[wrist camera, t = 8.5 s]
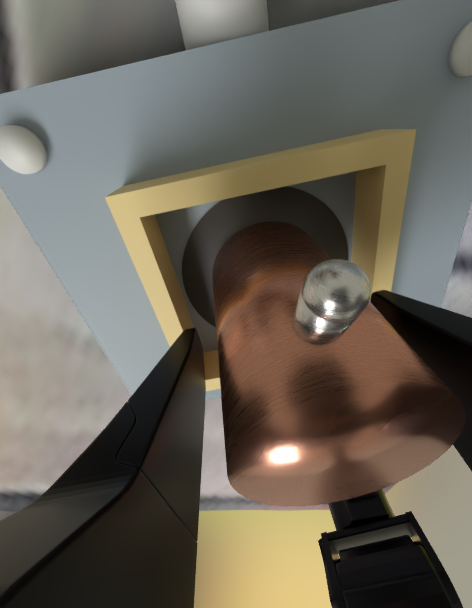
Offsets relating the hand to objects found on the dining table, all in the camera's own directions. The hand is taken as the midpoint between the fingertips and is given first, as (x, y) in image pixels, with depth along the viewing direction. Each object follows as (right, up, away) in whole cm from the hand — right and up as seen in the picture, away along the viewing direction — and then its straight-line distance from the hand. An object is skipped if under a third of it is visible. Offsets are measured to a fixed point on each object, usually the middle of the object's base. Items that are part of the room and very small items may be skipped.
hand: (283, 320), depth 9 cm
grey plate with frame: (-1, +5, +6) cm, 8 cm away
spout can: (0, +2, +3) cm, 3 cm away
